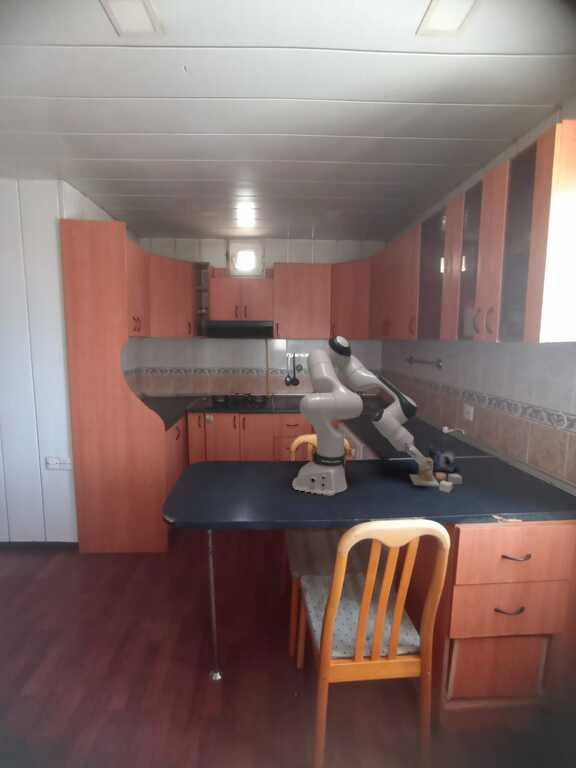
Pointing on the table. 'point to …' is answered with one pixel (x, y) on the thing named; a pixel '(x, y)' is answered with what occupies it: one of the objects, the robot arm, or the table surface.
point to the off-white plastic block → (446, 486)
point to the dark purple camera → (442, 458)
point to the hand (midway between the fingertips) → (425, 464)
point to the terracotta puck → (440, 476)
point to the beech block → (426, 471)
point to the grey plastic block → (455, 478)
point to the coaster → (423, 483)
